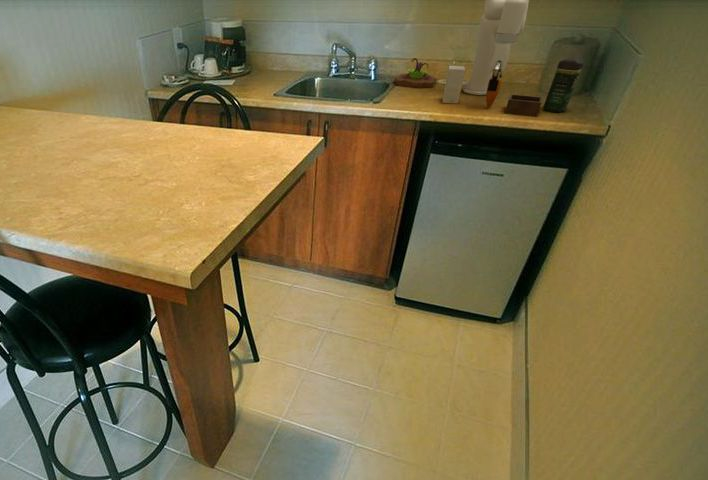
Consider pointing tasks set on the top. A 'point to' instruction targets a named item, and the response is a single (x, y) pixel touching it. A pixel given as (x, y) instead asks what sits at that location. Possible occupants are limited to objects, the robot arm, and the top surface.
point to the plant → (415, 77)
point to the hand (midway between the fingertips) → (493, 88)
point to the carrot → (492, 93)
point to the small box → (453, 84)
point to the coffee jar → (563, 84)
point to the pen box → (523, 105)
